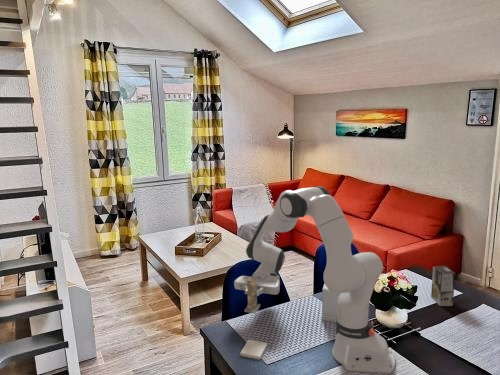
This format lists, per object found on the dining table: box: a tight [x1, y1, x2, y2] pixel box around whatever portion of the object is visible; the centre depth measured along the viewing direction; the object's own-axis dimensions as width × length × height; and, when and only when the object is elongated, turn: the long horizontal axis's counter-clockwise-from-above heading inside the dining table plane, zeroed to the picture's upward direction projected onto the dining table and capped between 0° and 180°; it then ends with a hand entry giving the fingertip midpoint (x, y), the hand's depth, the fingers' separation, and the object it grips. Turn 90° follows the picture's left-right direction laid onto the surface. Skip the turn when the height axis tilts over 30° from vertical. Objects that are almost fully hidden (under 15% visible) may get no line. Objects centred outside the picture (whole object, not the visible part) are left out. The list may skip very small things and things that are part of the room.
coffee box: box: [430, 265, 456, 307], centre depth 177 cm, size 9×6×16 cm
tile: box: [239, 339, 269, 361], centre depth 147 cm, size 8×2×9 cm
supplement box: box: [321, 283, 341, 323], centre depth 167 cm, size 9×9×15 cm
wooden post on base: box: [244, 276, 261, 314], centre depth 161 cm, size 5×7×14 cm
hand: (251, 293), depth 160 cm, fingers closed on wooden post on base, 3 cm apart
